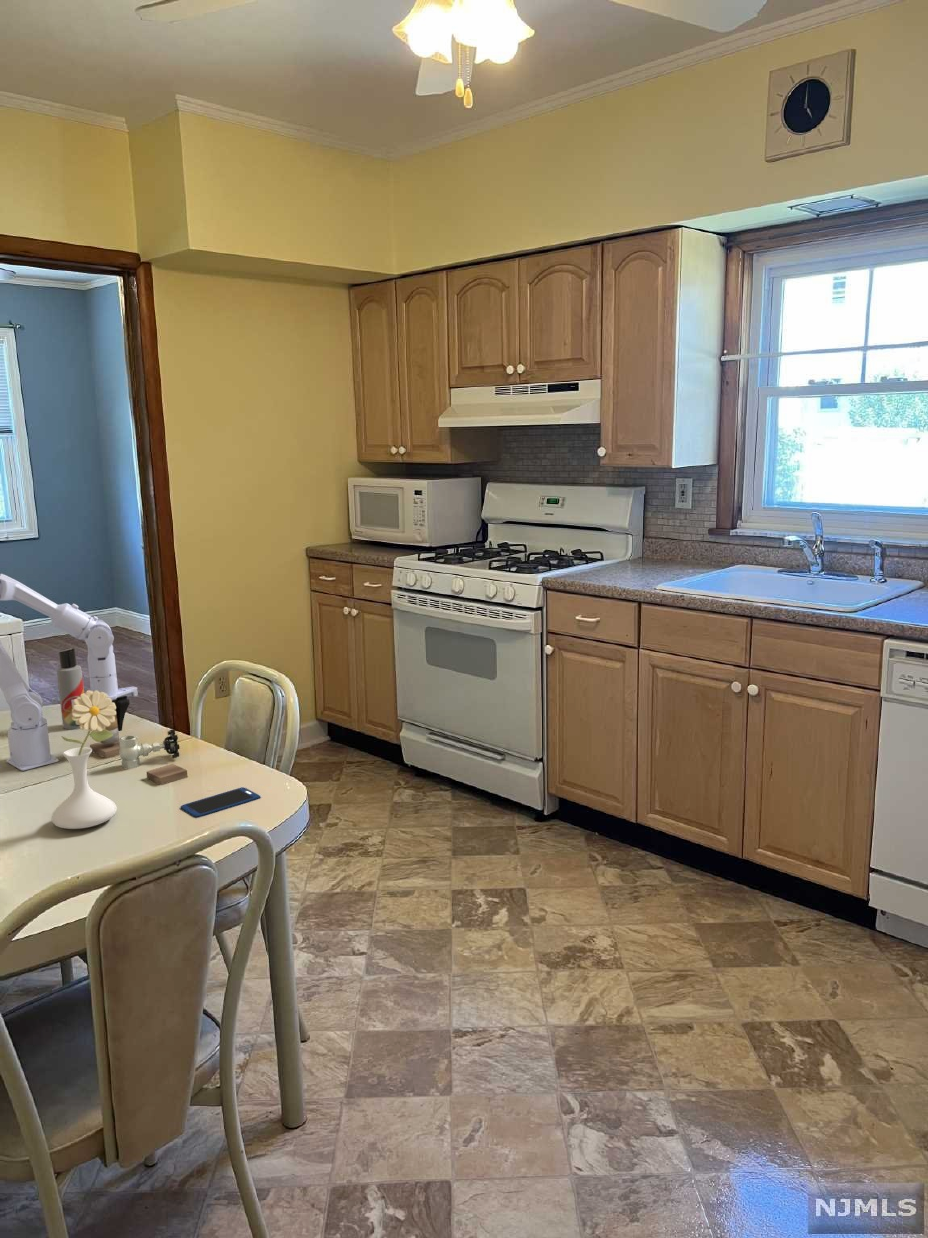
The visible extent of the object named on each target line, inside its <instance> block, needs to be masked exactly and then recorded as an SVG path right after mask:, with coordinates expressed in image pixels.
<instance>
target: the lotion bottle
mask: <svg viewBox="0 0 928 1238" xmlns="http://www.w3.org/2000/svg"><path fill="white" fill-rule="evenodd" d="M76 653H77V652H76V650H75V648H74V647H68V648H63V649H62V650H60V651H58V656H59V667H58V668H56V679H57V686H58V694H59V703H60V714H61V720H62V721H61V722H62V727H63V728H64V729H65V730H76V729H77V730H78V729H80V725H77V724H76V721H74V720H72V713H73V712H72V709H73V708H72V701H71V700H73V699H77V698H78V697H80V696H81V694H83V693H85V690H84V689H85V688H84V679H83V671H82V667H81V665H78V663H77V655H76Z"/></svg>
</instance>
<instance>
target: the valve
mask: <svg viewBox="0 0 928 1238" xmlns="http://www.w3.org/2000/svg"><path fill="white" fill-rule="evenodd" d="M167 735H168V736H166V737H164V740H163V741H162V743H160V742H153V743H152V744H149V743H147V742H146V741H145V742H141V743H140V744H139V737H138V736H137V735H134V734H133V735H132V734H129V735H124V736H121V737H119V743H120V747H121V748H120V752H119V753H120V755H119V758H120V759H121V768H122V769H125V770H132V769H137V768H139V766H140V765H141V760H140V759H141V758H140V756H142V757H148V756H149V755H150V754H149V753H151V752H153V753H154V752H160V751H161V749H163V750H164V751H165V752H166V753H167V754H168V755H171V758H172V759H176V758H179V757H180V752H179V750H180V744H179V743H178V739H179V736H178V735H177V734H176V730H175V728H173V729H169V730H168V731H167Z"/></svg>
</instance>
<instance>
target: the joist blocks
mask: <svg viewBox="0 0 928 1238" xmlns="http://www.w3.org/2000/svg"><path fill="white" fill-rule="evenodd" d="M89 748H91V749H92V752H91V753H94V754H96V755H98V756H99V757H103V758H105V759H110V758H112V757H117V756H120V753H119V752H120V748H121V747H120V743H119V741H117V742H115V743H110V744H103V743H101V742H96V743H91V744H89ZM146 778H147V780H151V781H152V782H154V783H156V784H158V785H161V786H162V785H166V784H168V783H172V782H176V781H179V780H182V779H185V778H188V770H187V769H186V768H183V767H181V766H179V765H177V764H174V763H171V764H168V765H165V766H161V767H157V768H153V769H150V770H147V771H146Z"/></svg>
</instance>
